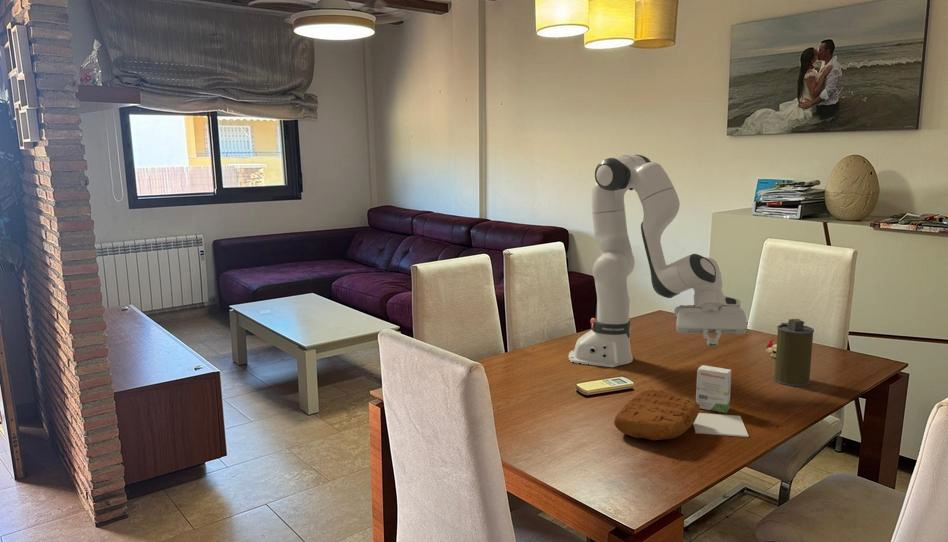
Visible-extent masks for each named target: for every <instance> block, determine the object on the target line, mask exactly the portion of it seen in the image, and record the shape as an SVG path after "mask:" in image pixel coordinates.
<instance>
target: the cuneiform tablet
mask: <svg viewBox="0 0 948 542" xmlns="http://www.w3.org/2000/svg"><path fill="white" fill-rule="evenodd" d="M700 411H701V410H700V406H699V404H697V402H696V400H695V399H692V398H690V397H688V396H683V395H682V396H681V395H679V394H676V393H673V392H669V391H668V392H667V391H662V390H659V389H649V390H643V391H641V392H640V393H638V394H637V395H635V396H634V397H633V398H632V399H630V400H629V401H628V402H627V403H626V404H625V405H624V406H623V407H622V409H621V410H620V411H619V412H618V413H616V416H615V417H614V421H613V424H614V426H615V428H616V429H617V430H618V431H620V432H621V433H622V434H624V435H628V436H630V437H632V438H636V439H637V438H638V439H639V438H641V439H642V438H643V439H646V440H650V441H661V440H672V439H676V438H678V437H680V436H681V435H683V434H684V433H685V432H686V431H688V429H690V428H691V427H692V425H693V423H694V422H695V419H696V418H697V416H698V414H699V413H700Z"/></svg>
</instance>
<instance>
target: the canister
mask: <svg viewBox="0 0 948 542" xmlns="http://www.w3.org/2000/svg"><path fill="white" fill-rule="evenodd" d="M804 324H805V321H803V320H801V319H800V318H789V319H788V322H781V323H780V324H779V325H777V327H776V328H777V334H776V336H777V337H776V338H777V339H776V345H777V349H776V357H775V363H774V364H775V366H774V376H773V380H774V381H775V382H776V383H778V384H780V383H781V385H785V386H787V387H789V386H790V387H801V386H802V387H807V386H809V385H810V384H811V382H810V378H811V377H810V376H811V364H812V352H813V351H812V350H813V339H814V338H813V337H814V332H815V329H814V328H813V327H810V326H809V325H804Z"/></svg>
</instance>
